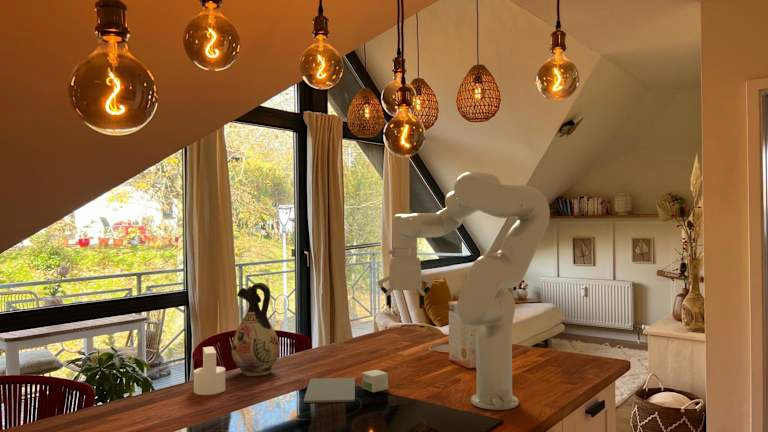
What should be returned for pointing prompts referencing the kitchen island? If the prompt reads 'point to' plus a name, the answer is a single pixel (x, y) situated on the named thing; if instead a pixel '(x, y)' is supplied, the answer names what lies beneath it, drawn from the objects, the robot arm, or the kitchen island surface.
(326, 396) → the mat
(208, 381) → the cylinder with rectangular tab
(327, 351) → the kitchen island surface
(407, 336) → the kitchen island surface
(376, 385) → the small box
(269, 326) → the ceramic jug
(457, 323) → the cracker box
